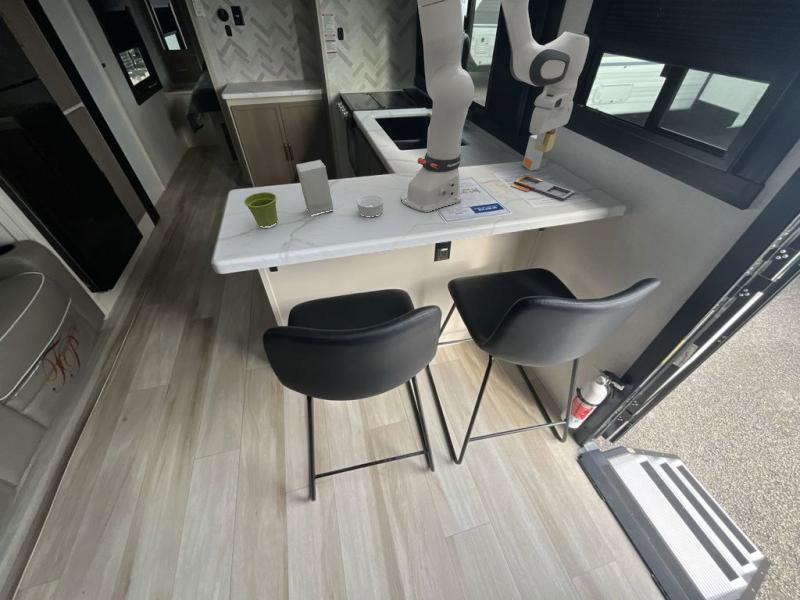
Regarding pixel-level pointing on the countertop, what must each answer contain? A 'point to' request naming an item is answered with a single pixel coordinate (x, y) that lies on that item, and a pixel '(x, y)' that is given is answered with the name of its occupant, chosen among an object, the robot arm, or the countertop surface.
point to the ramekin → (370, 200)
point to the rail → (541, 187)
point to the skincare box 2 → (532, 155)
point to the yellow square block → (546, 142)
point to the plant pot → (263, 208)
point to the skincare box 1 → (315, 186)
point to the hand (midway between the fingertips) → (544, 142)
